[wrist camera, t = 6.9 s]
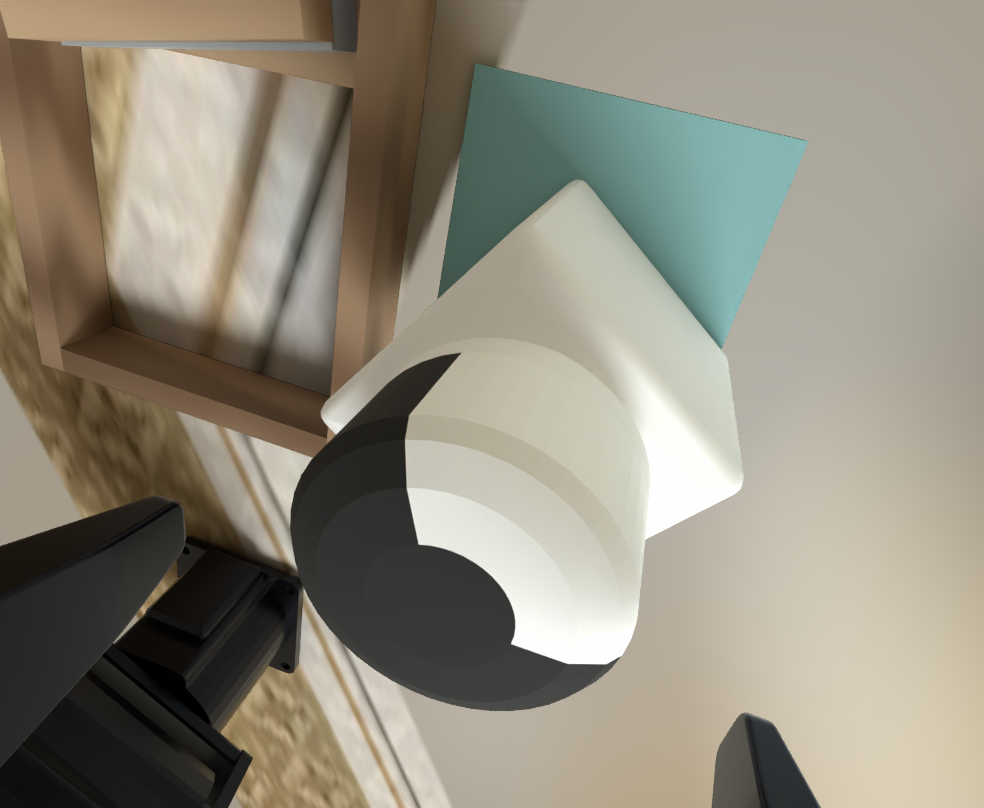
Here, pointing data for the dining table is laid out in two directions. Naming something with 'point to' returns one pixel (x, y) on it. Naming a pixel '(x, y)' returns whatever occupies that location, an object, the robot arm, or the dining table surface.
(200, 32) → the top offcut plank
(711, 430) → the medicine bottle
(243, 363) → the dining table surface
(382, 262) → the offcut rack
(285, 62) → the bottom offcut plank
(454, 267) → the teal mat
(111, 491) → the dining table surface
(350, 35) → the middle offcut plank
